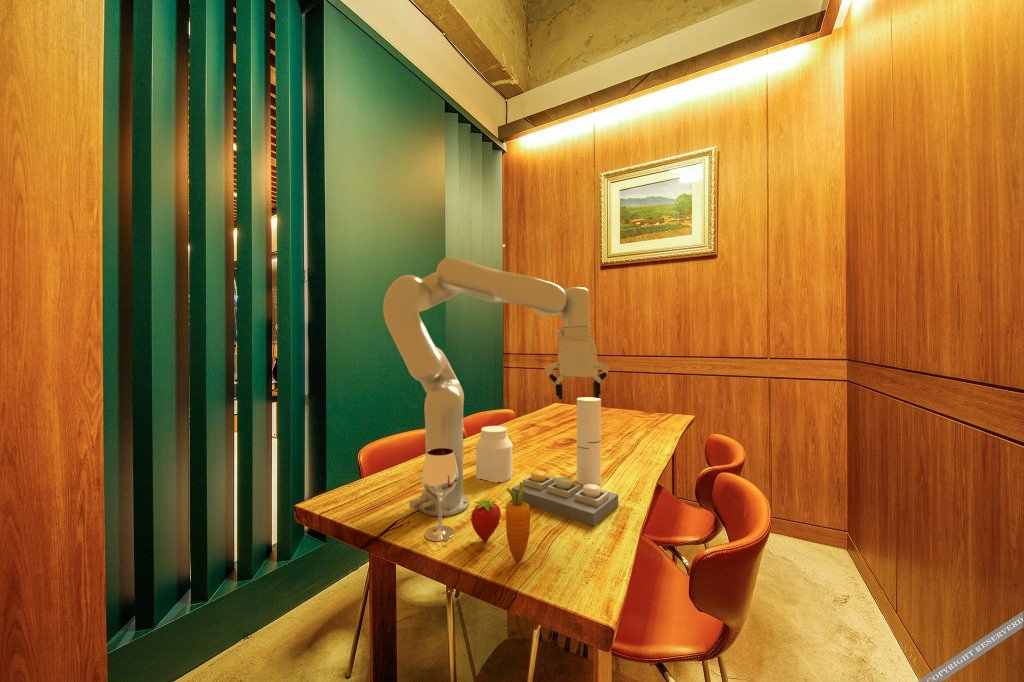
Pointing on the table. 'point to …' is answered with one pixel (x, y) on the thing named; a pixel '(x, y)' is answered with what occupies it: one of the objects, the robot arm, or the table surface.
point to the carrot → (517, 524)
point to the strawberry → (485, 518)
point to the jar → (494, 455)
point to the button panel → (568, 500)
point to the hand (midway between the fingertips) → (578, 398)
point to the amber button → (538, 476)
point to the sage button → (563, 482)
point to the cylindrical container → (588, 440)
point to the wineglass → (440, 485)
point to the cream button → (591, 490)
